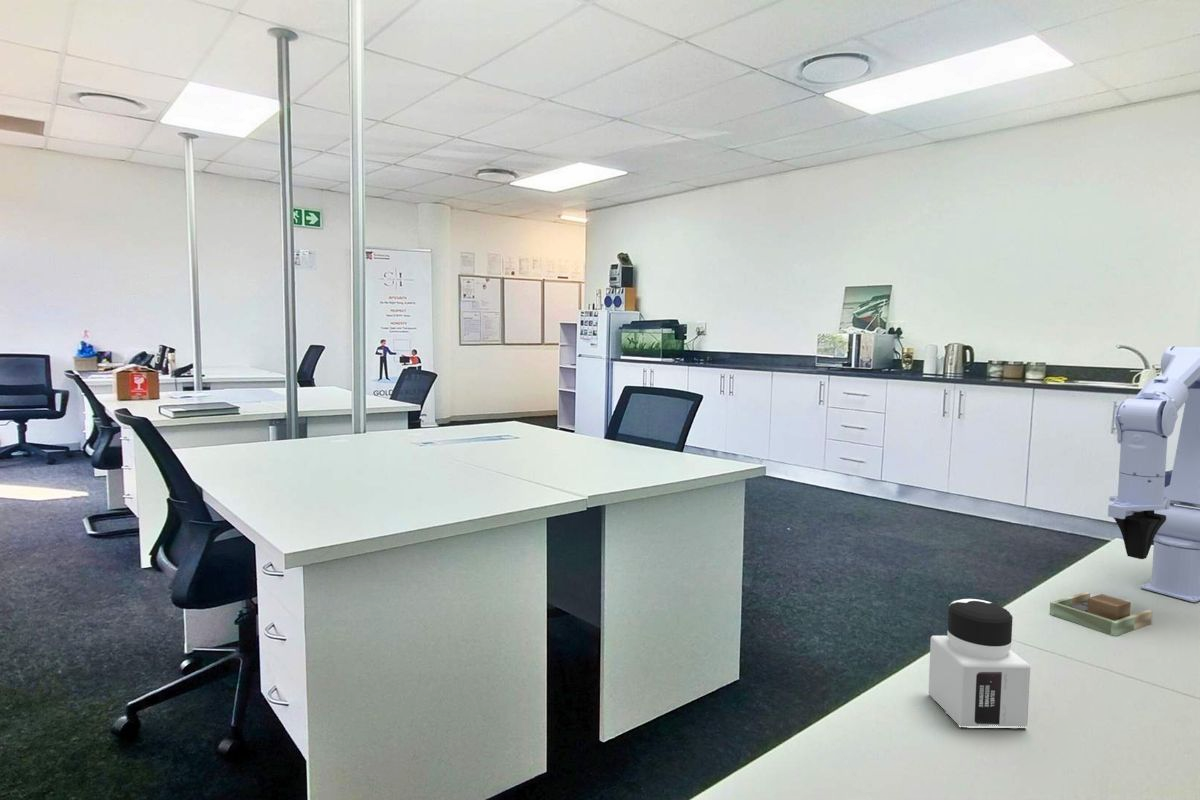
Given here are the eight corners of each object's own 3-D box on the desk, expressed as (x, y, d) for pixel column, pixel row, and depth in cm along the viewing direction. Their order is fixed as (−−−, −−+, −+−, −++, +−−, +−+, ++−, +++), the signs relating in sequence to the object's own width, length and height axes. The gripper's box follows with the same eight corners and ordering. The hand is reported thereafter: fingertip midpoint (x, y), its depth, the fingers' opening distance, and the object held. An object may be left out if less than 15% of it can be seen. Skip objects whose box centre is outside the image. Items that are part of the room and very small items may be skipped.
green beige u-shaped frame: (1085, 603, 113) (1086, 591, 113) (1151, 623, 105) (1152, 611, 104) (1049, 614, 108) (1050, 602, 108) (1115, 636, 100) (1116, 623, 100)
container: (1028, 730, 75) (1034, 618, 74) (959, 729, 75) (964, 617, 74) (989, 695, 83) (994, 593, 82) (927, 694, 83) (931, 592, 82)
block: (1100, 618, 107) (1101, 593, 107) (1129, 627, 103) (1130, 602, 103) (1086, 622, 105) (1087, 598, 105) (1115, 632, 102) (1116, 606, 101)
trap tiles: (1089, 605, 112) (1089, 600, 112) (1102, 609, 110) (1103, 604, 110) (1070, 611, 109) (1070, 606, 109) (1083, 615, 108) (1084, 610, 108)
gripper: (1136, 466, 113) (1131, 544, 114) (1088, 473, 106) (1084, 556, 107) (1187, 473, 106) (1182, 556, 107) (1140, 481, 100) (1135, 569, 101)
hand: (1136, 557), depth 107 cm, fingers closed
